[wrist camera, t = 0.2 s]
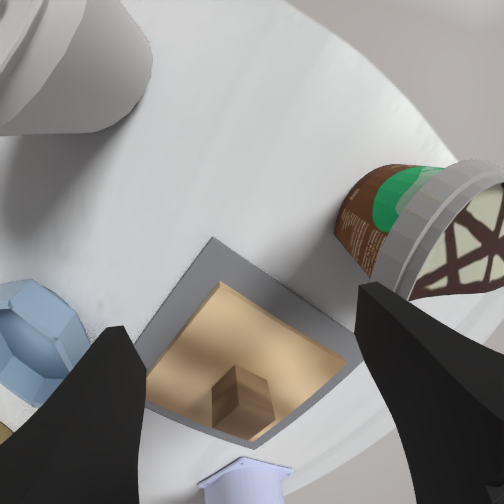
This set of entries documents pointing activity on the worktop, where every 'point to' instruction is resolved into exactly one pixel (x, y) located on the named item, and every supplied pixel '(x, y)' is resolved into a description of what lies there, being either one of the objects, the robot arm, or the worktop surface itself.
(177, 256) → the worktop surface
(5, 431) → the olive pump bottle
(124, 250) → the worktop surface
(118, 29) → the can
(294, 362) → the lid
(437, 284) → the food container
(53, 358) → the bowl
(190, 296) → the mat
